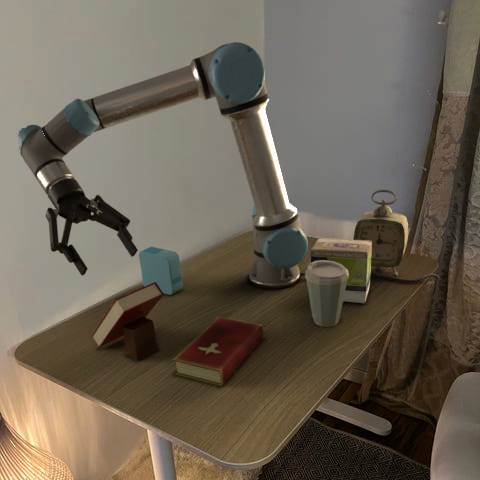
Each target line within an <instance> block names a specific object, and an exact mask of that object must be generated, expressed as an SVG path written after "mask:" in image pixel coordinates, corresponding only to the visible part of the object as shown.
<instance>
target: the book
mask: <svg viewBox="0 0 480 480" xmlns="http://www.w3.org/2000/svg"><path fill="white" fill-rule="evenodd" d="M164 295H165V293H163V292H162V290H161V289H160V287H159V286H158V284H157V283H156V282H154V283H152V284H149V285H147V286H143V287H140V288H138V289H135V290H133V291H131V292H129V293H126V294H125V295H121V296H119V297H117V298H115V299H114V301H113V302H112V304H111V306H110V307H109V308H108V310H107V311H106V313H105V315H104V316H103V317H102V319H101V320H100V322H99V323H98V325H97V327H96V328H95V330H94V331H93V333H92V334H91V337H92V338H93V339H94V341H95V342H96V344H97V345H98V348H99V349H100V348H102V347H104V346H106V345H109V344H111V343H113V342H114V341H116V340H118V339H120V338H123V337H124V333H123V328H122V326H123V325H125V324H127V323H129V322H131V321H133V320H136V319H138V318H140V317H142V316H144V317H146V318H147V316H148V315H149V314H150V313H151V311H153V309H154V307H156V305H157V304H158V302H159V301H160V300H161V299H162V298H163V296H164Z"/></svg>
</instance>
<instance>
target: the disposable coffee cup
mask: <svg viewBox="0 0 480 480" xmlns="http://www.w3.org/2000/svg"><path fill="white" fill-rule="evenodd" d="M304 273H305V276H304V278H305V280H306V285H307V291H308V292H307V293H308V297H309V305H310V311H311V316H312V320H313V323H315V324H316V325H317V326H320V327H333V326H336V325H337V324H338V323H339V321H340V319H341V313H342V309H343V304H344V301H343V299H344V294H345V288H346V283H347V279H348V276H349V273H348V270H347V269H346V268H345V267H344V266H343V265H342V264H340V263H337V262H334V261H327V260H320V261H314V262H312V263H311V262H310V263H309V264H308V265H307V268H306V269H305V272H304Z"/></svg>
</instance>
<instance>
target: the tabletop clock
mask: <svg viewBox="0 0 480 480" xmlns="http://www.w3.org/2000/svg"><path fill="white" fill-rule="evenodd" d="M380 193H388V194H391V195H393V196H394V200H392V201H388V202H387V200H386V199H381V201H378V200H376V199H374V196H375V195H376V194H380ZM397 199H398V195H397V194H396V193H395V192H394V191H392V190H389V189H377V190H375V191H374V192H373V193H372V194H371V200H372V202H373V203H374V204H376V205H378V206H376V207H375V209H374V211H367V212H364V213H362V215H361V217H360V218H359V219H358V221H357V222H356V225H355V228H354V232H353V239H352V240H369V241H372V254H371V267H375V268H376V269H377V270H382V269H383V268H392V271H393V273H392V277H396V278H398V277H399V272H398V271H396V267H398V266H400V264H401V262H402V260H403V257H404V254H405V251H406V249H407V245H408V244H407V243H408V239H409V223H408V219H407V216H406V215H403V214H401V213H397V212H393V210H392V208H391V207H390V206H389V205H393V204H394V203H396V201H397Z"/></svg>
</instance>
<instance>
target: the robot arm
mask: <svg viewBox="0 0 480 480" xmlns="http://www.w3.org/2000/svg"><path fill="white" fill-rule="evenodd" d="M265 78H266V70H265V64H264V62H263V60H262V57H261V56H260V54H259V53H258V52H257V51H256V50H255V49H254V48H253V47H251V46H250V45H248V44H246V43H243V42H238V41H234V42H231V43H230V42H229V43H224V44H222V45H220V46H218V47H217V48H215V49H213V50H212V51H209V52H208V53H205V54H204V55H201V56H198V57H195V58H193V59H191V62H190V64H189V65H186V66H184V67H180V68H177V69H174V70H171V71H168V72H166V73H161V74H160V75H156V76H153V77H151V78H147V79H145V80H142V81H139V82H136V83H133V84H129V85H127V86H124V87H121V88H118V89H115V90H112V91H108V92H106V93H102V94H100V95H97V96H94V97H91V98H88V99H85V100H83V99H81V98H76V99H74V100H72V101H71V102H70V103H68V104H67V105H65V107H64V108H63V109H62V110H61V111H59V112H58V113H57V114H56V115H55V116H53V118H51V120H49V121H48V122H47V123H46V124H45V125H43V126H42V127H41V126H40V125H38V124H28V125H27V126H26V127H22V128H20V129H21V130H20V129H19V130H20V131H19V130H18V131H19V134H18V144H19V150H20V153H19V155H20V154H21V155H20V157H21V156H22V157H23V159H24V160H23V159H22V160H23V161H24V163H25V164H26V166H27V167H28V169H29V170H30V171H31V173H32V174H33V176H34V177H35V179H36V180H37V182H38V183H39V185H40V187H41V188H42V190H43V192H44V193H45V195H47V198H48V199H49V201H50V203H51V204H52V206H53V207H54V208H53V207H48V208H47V210H46V212H45V215H44V216H45V218H46V221H47V222H48V232H49V233H48V234H49V244H50V245H49V246H50V251H51V252H53V253H55V252H59V254H61V255H63V256H64V258H66V260H67V262H68V263H70V264H72V263H73V265H74V266H75V268H76V270H77V271H78V273H79V274H80V276H85V275H86V273H87V271H88V269H89V268H88V267H87V265H86V263H85V261H84V260H83V259H82V258H81V256H80V254H79V253H78V251H77V250H76V247H75V246H74V245H73V244H69V241H70V237H71V231H72V226H73V224H75V225H78V224H80V223H82V222H88V220H89V221H91V222H96V223H99V224H101V225H103V226H104V227H107V228H109V229H111V230H113V231H115V232H117V234H116V235H117V237H118V239H119V240H120V242H121V243H122V245H123V246H124V248H125V249H126V251H127V253H128V254H129V255H130V257H131V258H132V257H135V255H136V254H137V253H138V251H139V249H138V248H137V246H136V245H135V243H134V242H133V235H132V234H131V233H130V231H129V230H128V227H129V225H130V223H131V220H130V219H129V217H127V216H125V215H124V214H123V213H121V212H120V211H119V210H117V209H116V208H115V207H113V206H111V205H110V204H109V203H107V202H106V201H105V199H103V198H102V196H101V195H100V194H96V195H95V196H94V198H91V199H89V198H88V197H87V196H86V194H85V191H84V189H83V188H82V186H81V185H80V183H79V181H78V180H77V179H76V177H75V176H74V174H73V172H72V171H71V169H70V168H69V167H68V165H67V164H66V162H65V161H64V159H63V158H64V157H66V155H68V154H70V152H71V151H72V150H74V149H75V148H76V147H77V146H78V145H80V144H81V143H82V142H83V141H85V140H86V139H87V138H89V137H90V136H91V135H92V134H94V133H96V132H99V131H103V130H104V129H108V128H110V127H113V126H117V125H120V124H122V123H126V122H129V121H132V120H134V119H138V118H141V117H144V116H148V115H150V114H153V113H157V112H160V111H163V110H166V109H169V108H172V107H175V106H178V105H181V104H184V103H187V102H190V101H193V100H197V99H199V98H200V99H202V100H204V101H207V100H209V99H213V98H215V100H216V102H217V105H218V109H219V112H220V115H221V117H223V118H224V119H227V120H228V121H229V123H230V127H231V130H232V133H233V137H234V141H235V143H236V147H237V150H238V153H239V157H240V160H241V164H242V167H243V170H244V174H245V177H246V181H247V184H248V189H249V191H250V194H251V198H252V202H253V207H252V211H251V212H252V213H251V218H252V234H253V235H252V238H253V257H252V262H251V265H250V268H249V273H248V276H249V277H248V280H249V282H250V283H251V284H252V285H253V286H256V287H257V288H258V287H259V288H261V289H270V290H271V289H283V288H289V287H291V286H294V285H295V284H297V283H298V282H299V281H300V278H301V276H303V277H305V273H306V272H300V269H299V265H298V264H300V263H301V262H303V260H304V258H305V257H306V256H307V254H308V250H309V241H308V240H309V239H308V237H307V235H306V233H305V232H304V230H303V228H302V227H303V226H302V223H301V220H300V216H299V212H298V209H297V207H295V206H294V205H293V204H292V203H291V202H289V197H288V194H287V190H286V186H285V182H284V178H283V174H282V171H281V167H280V163H279V160H278V159H279V158H278V154H277V151H276V147H275V143H274V140H273V139H274V138H273V136H272V132H271V128H270V124H269V121H268V117H267V113H266V107H267V105H268V103H269V101H270V98H269V94H268V90H267V87H266V81H265ZM42 131H43V132H42ZM43 133H44V134H43ZM44 135H45V136H44ZM22 157H21V158H22ZM58 217H61V218H62V219H64V220H65V222H64V226H63V231H62V237H61V241H60V242H59V240H60V239H59V229H58ZM370 277H377V278H381V279H382V278H383V279H388V280H392V281H397V282H403V283H418V282H421V281H424V280H425V279H428V278H430V277H434V278H435V279H437V280H439V279H441V277H440V276H439V275H438V274H436V273H428V274H425V275H423V276H421V277H418V278H412V279H409V278H401V277H394V276H393V275H392V276H391V275H385V274H380V273H375V272H371V275H370Z"/></svg>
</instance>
